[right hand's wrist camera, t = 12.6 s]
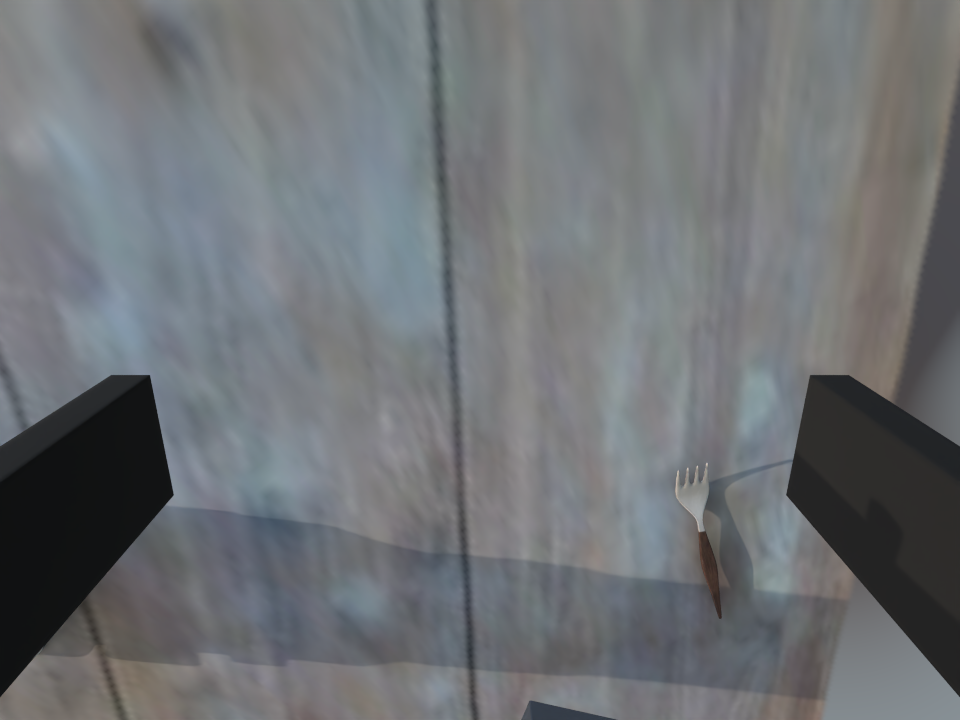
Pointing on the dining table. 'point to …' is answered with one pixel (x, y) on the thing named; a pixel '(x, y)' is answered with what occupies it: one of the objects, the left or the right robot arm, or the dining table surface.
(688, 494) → the fork
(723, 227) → the dining table surface
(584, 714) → the box
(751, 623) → the dining table surface
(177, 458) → the dining table surface
